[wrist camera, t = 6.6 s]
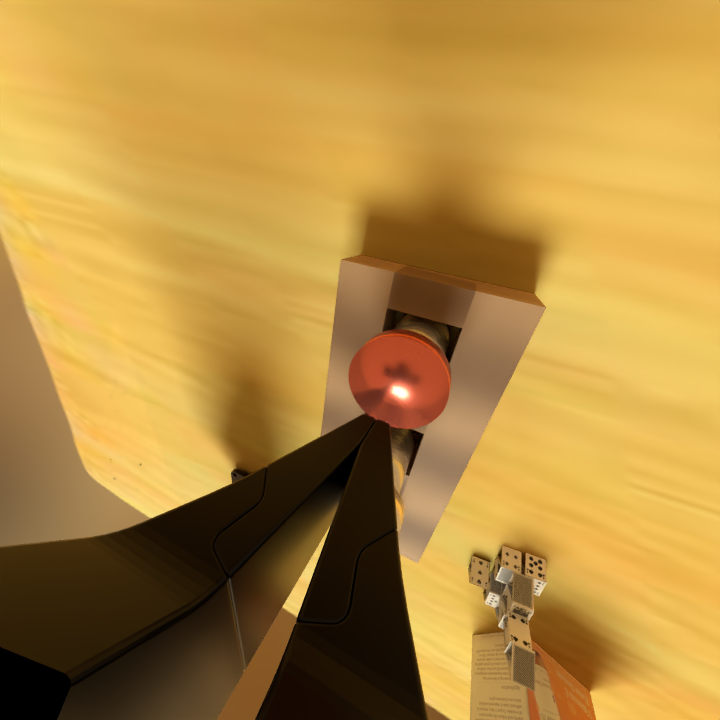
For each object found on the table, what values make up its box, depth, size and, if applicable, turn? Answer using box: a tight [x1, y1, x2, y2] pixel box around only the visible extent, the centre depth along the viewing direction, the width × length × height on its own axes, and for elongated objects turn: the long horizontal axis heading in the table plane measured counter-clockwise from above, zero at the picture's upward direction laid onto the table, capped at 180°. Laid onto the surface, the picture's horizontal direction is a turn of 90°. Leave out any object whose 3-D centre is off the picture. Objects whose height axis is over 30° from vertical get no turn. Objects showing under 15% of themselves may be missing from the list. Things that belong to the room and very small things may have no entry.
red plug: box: [348, 314, 452, 429], centre depth 13 cm, size 4×4×6 cm
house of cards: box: [468, 545, 547, 692], centre depth 20 cm, size 9×9×8 cm
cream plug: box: [330, 426, 415, 538], centre depth 15 cm, size 4×4×6 cm
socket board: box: [321, 255, 546, 563], centre depth 18 cm, size 20×9×4 cm, turn 171°
